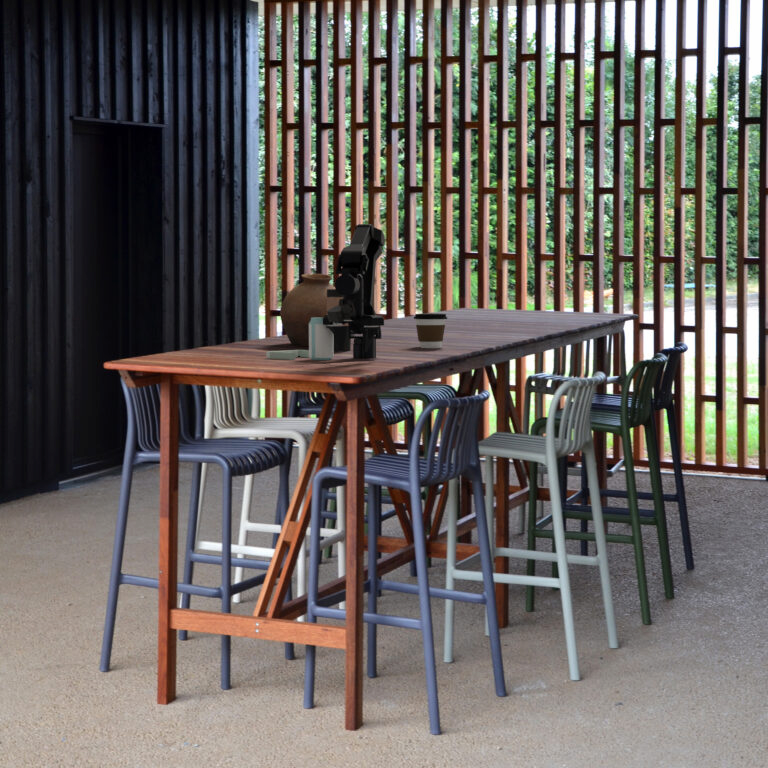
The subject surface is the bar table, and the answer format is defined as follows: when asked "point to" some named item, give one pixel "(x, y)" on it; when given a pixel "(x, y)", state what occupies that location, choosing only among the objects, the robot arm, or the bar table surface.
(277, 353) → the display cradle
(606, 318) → the bar table surface
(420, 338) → the coffee cup
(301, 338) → the pottery
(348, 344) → the travel mug
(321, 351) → the can
